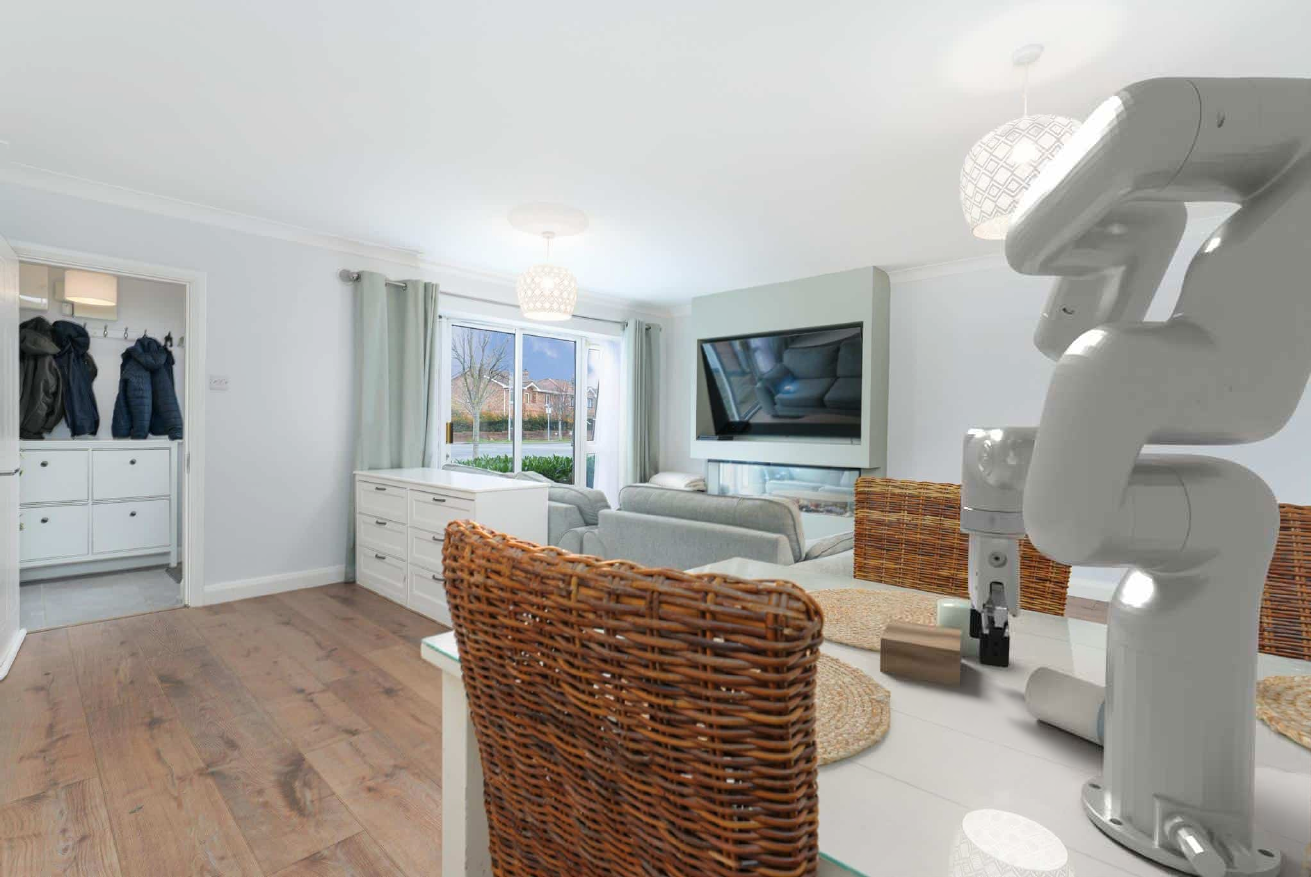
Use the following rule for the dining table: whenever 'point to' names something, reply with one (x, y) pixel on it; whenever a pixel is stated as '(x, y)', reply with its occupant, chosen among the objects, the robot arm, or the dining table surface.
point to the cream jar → (1067, 703)
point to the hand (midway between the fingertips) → (987, 651)
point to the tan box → (921, 652)
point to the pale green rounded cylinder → (958, 622)
